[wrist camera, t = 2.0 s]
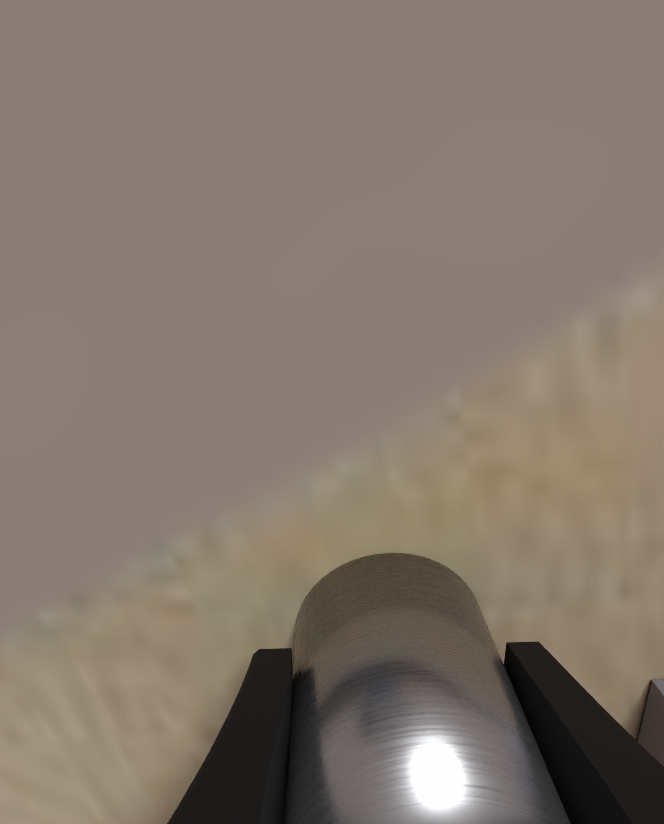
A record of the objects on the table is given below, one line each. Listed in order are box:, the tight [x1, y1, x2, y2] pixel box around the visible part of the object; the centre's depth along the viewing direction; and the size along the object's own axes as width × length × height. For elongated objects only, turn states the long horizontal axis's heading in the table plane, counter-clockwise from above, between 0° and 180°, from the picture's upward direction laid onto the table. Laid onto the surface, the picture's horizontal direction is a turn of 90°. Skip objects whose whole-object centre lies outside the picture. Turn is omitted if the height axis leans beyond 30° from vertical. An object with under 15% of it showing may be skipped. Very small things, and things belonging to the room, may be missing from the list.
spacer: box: [285, 553, 570, 824], centre depth 9 cm, size 4×4×5 cm
